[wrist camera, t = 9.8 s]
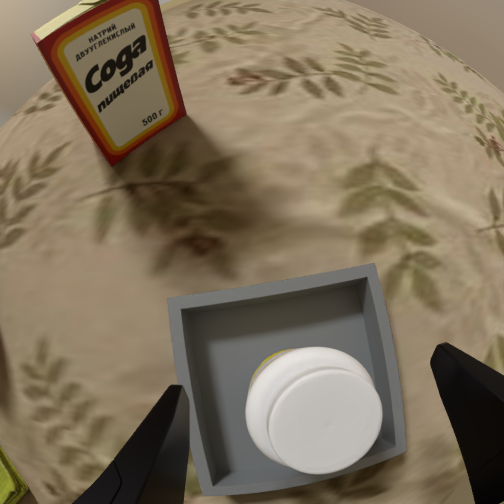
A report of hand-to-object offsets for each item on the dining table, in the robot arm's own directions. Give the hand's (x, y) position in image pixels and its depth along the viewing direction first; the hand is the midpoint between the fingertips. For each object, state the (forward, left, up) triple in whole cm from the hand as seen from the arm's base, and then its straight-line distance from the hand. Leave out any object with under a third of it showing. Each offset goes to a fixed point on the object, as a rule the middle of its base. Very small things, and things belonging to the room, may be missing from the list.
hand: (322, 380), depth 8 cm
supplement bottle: (-2, 0, -10) cm, 10 cm away
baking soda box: (+25, +11, -11) cm, 30 cm away
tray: (-1, 0, -11) cm, 11 cm away
